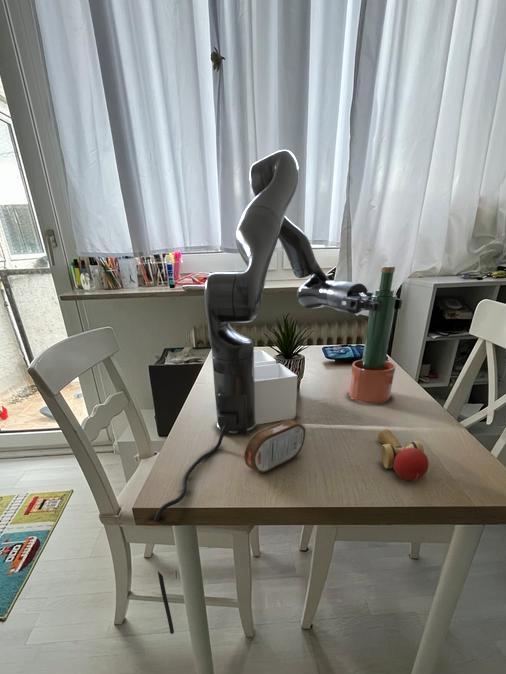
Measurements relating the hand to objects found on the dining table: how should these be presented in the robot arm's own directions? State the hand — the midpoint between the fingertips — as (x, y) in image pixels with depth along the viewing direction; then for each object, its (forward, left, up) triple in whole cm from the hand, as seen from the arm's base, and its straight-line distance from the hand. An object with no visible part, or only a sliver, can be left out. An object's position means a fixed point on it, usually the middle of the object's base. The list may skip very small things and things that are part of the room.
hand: (389, 305), depth 94 cm
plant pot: (+2, +1, -24) cm, 24 cm away
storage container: (-5, +32, -24) cm, 40 cm away
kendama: (-34, 0, -24) cm, 42 cm away
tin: (-37, +24, -24) cm, 50 cm away
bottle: (+2, +1, -15) cm, 15 cm away
